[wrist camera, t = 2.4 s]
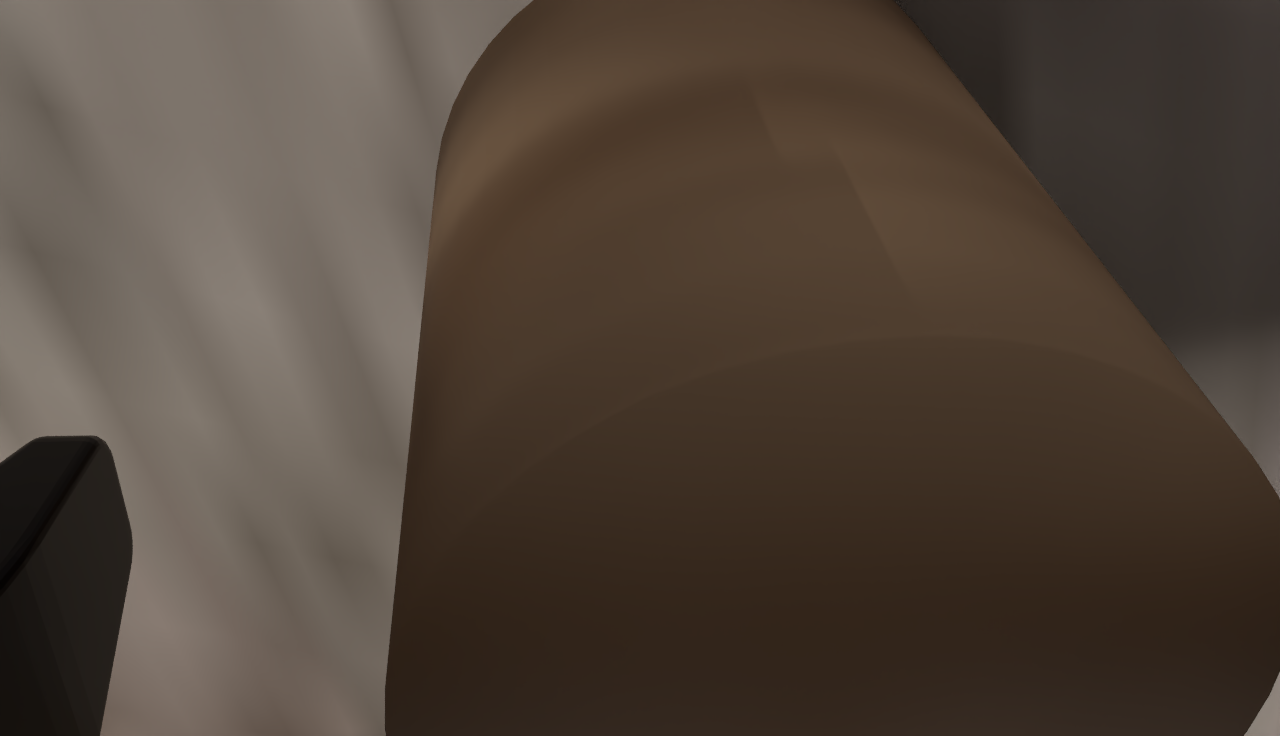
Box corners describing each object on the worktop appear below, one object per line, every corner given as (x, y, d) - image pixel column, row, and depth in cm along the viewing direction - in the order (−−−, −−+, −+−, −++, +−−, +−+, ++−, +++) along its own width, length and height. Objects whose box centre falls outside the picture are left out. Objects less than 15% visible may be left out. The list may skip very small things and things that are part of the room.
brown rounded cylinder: (909, 409, 13) (1143, 934, 8) (446, 415, 13) (410, 978, 8) (1015, -59, 10) (1460, 332, 6) (421, -75, 10) (345, 341, 5)
